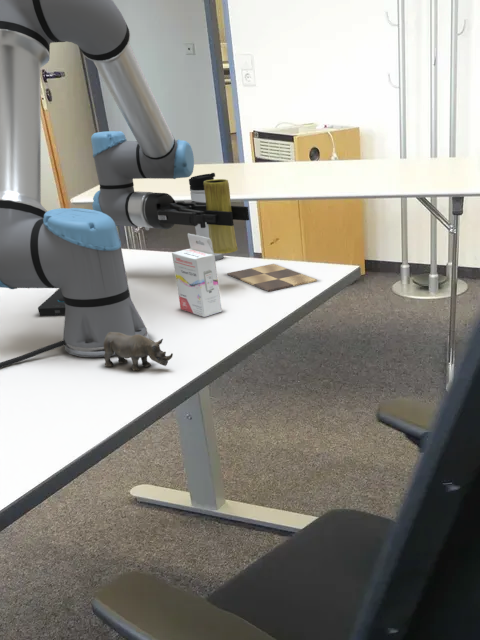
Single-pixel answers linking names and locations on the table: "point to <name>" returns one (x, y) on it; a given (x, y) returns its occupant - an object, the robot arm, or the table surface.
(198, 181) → the travel mug
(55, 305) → the smart home device
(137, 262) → the table surface
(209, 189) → the vase
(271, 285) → the board
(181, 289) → the ink cartridge box
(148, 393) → the table surface
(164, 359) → the rhino figurine
